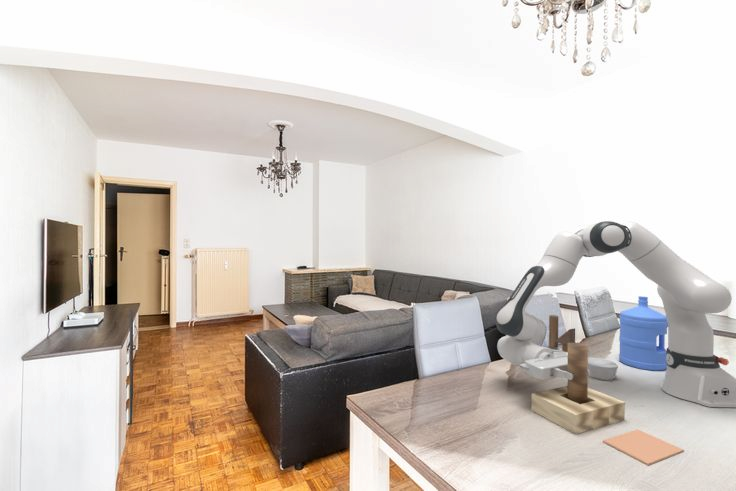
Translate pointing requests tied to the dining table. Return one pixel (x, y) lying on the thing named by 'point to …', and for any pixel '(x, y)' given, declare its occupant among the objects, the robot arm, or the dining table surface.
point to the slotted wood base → (578, 409)
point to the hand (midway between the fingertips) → (580, 375)
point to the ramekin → (602, 368)
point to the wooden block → (553, 335)
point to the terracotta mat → (643, 446)
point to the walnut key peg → (578, 372)
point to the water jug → (643, 337)
